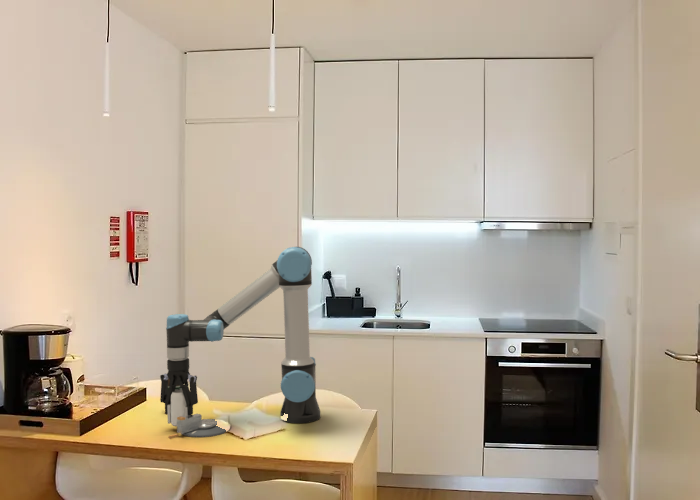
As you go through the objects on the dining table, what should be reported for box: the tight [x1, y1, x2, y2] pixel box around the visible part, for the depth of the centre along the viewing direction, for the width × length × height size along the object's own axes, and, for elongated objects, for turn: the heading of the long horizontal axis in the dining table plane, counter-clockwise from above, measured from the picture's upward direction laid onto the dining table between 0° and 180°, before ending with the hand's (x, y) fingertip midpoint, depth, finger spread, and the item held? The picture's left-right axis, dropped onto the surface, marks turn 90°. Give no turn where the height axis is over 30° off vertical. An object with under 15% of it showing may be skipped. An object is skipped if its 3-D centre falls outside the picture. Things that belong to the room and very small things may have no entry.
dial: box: [176, 413, 217, 435], centre depth 220 cm, size 15×8×5 cm, turn 141°
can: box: [170, 389, 187, 428], centre depth 221 cm, size 6×6×12 cm
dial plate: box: [181, 418, 227, 438], centre depth 223 cm, size 18×18×1 cm
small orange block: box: [168, 433, 179, 440], centre depth 214 cm, size 3×1×1 cm, turn 134°
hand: (179, 423), depth 221 cm, fingers closed on can, 6 cm apart
